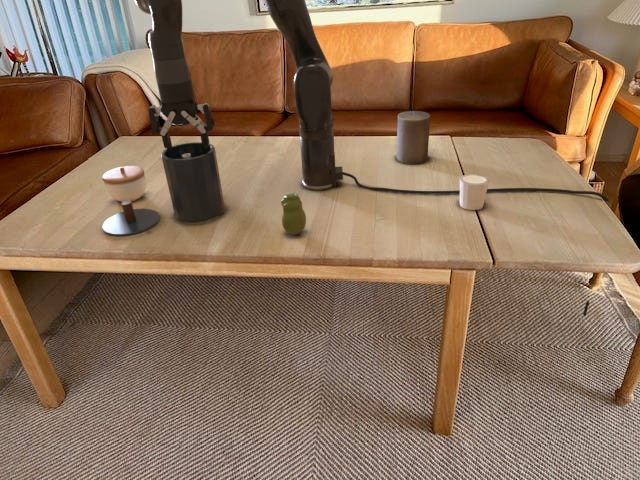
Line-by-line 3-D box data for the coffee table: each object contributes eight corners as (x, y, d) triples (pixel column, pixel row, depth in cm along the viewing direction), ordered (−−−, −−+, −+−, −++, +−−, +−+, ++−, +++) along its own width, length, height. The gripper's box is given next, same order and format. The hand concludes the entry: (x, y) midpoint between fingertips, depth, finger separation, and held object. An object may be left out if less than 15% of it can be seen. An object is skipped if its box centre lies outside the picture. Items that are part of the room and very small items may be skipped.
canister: (228, 201, 129) (218, 140, 120) (220, 223, 118) (208, 158, 109) (182, 203, 129) (169, 143, 121) (169, 225, 118) (154, 161, 110)
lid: (166, 211, 125) (161, 189, 122) (151, 237, 113) (145, 213, 110) (115, 214, 125) (109, 192, 122) (94, 239, 114) (87, 216, 111)
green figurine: (287, 240, 109) (283, 200, 104) (279, 230, 113) (275, 192, 108) (310, 234, 111) (307, 195, 106) (301, 225, 115) (298, 187, 110)
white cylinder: (470, 213, 116) (473, 187, 112) (451, 203, 121) (453, 177, 118) (491, 206, 118) (495, 180, 115) (472, 196, 124) (475, 171, 120)
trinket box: (101, 204, 131) (91, 173, 126) (127, 189, 139) (119, 158, 135) (133, 209, 127) (124, 176, 123) (157, 193, 136) (150, 161, 131)
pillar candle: (432, 156, 150) (435, 108, 143) (420, 166, 143) (423, 116, 136) (403, 151, 155) (405, 105, 148) (390, 161, 148) (392, 113, 141)
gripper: (136, 84, 103) (153, 155, 111) (202, 80, 103) (214, 152, 111) (147, 77, 110) (162, 145, 118) (208, 73, 110) (219, 142, 118)
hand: (187, 148), depth 115 cm, fingers open, 8 cm apart
